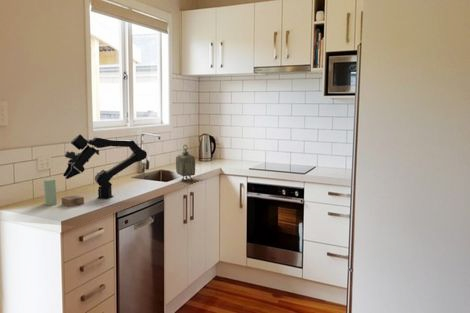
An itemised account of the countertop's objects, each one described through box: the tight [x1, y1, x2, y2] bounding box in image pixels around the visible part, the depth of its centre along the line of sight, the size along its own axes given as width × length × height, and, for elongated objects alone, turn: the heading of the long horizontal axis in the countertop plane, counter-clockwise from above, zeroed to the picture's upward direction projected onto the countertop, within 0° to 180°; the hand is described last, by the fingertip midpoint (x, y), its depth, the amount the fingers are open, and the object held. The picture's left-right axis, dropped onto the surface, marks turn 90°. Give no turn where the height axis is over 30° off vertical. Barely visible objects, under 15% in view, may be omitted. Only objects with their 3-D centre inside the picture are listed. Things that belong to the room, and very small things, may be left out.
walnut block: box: [61, 194, 85, 208], centre depth 209 cm, size 8×8×4 cm
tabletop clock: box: [175, 144, 196, 182], centre depth 274 cm, size 14×9×25 cm, turn 28°
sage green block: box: [43, 178, 57, 206], centre depth 209 cm, size 5×5×13 cm
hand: (64, 177), depth 212 cm, fingers open, 9 cm apart
